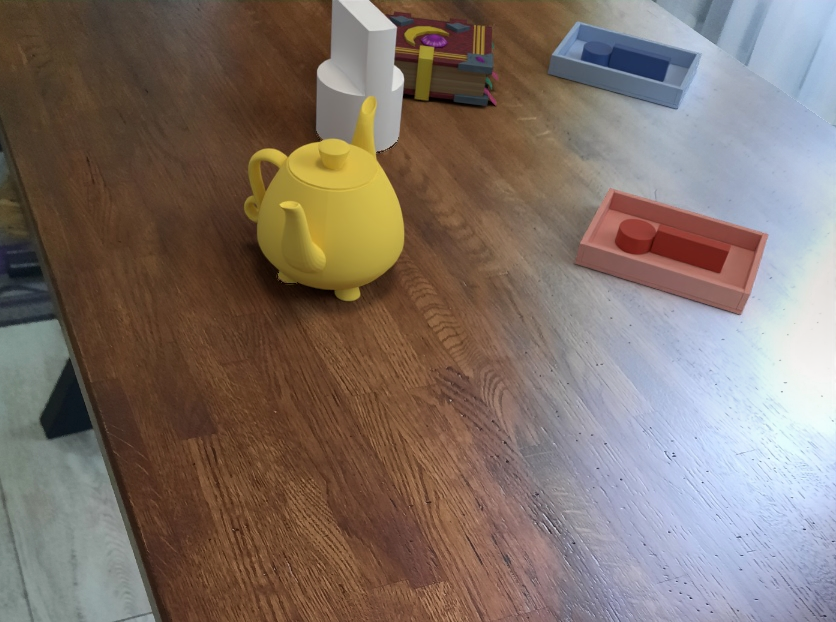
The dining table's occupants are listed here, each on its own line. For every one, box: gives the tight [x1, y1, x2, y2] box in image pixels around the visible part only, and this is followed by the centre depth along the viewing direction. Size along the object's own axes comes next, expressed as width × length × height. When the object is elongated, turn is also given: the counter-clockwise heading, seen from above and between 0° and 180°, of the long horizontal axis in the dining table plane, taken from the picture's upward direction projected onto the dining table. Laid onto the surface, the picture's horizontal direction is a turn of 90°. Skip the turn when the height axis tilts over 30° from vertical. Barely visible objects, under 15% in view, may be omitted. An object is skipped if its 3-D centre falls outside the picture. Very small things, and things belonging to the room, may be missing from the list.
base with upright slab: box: [315, 0, 404, 152], centre depth 95 cm, size 9×9×12 cm
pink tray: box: [574, 187, 769, 315], centre depth 90 cm, size 16×11×2 cm
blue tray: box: [547, 20, 703, 110], centre depth 113 cm, size 16×11×2 cm
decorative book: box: [383, 10, 499, 107], centre depth 107 cm, size 11×16×5 cm
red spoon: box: [615, 219, 731, 273], centre depth 89 cm, size 11×4×2 cm, turn 67°
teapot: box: [243, 96, 405, 302], centre depth 81 cm, size 20×15×12 cm
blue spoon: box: [581, 41, 671, 82], centre depth 113 cm, size 11×4×2 cm, turn 67°
